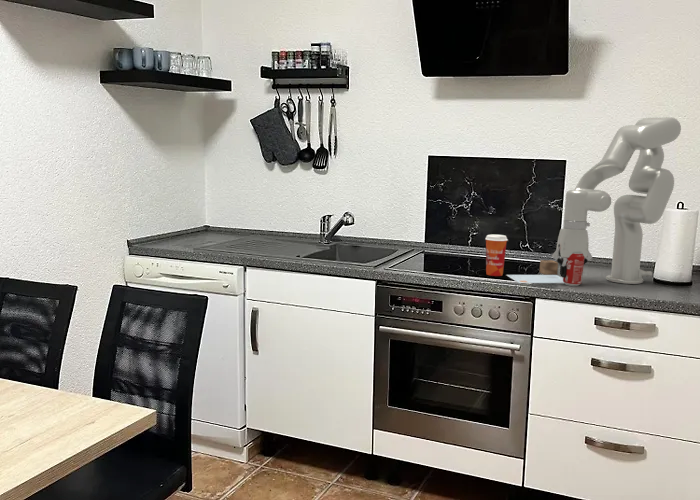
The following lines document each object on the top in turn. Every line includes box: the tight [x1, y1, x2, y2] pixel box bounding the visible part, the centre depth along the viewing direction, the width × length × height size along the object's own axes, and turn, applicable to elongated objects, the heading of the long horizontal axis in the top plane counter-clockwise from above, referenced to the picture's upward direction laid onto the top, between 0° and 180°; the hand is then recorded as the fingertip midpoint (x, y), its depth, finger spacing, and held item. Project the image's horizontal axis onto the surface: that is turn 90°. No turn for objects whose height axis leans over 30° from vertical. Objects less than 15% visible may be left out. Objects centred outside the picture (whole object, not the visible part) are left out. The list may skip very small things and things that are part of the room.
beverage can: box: [562, 253, 585, 287], centre depth 244 cm, size 6×6×12 cm
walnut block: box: [539, 259, 559, 275], centre depth 266 cm, size 5×5×5 cm
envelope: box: [505, 274, 565, 284], centre depth 254 cm, size 20×15×1 cm
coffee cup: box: [484, 233, 509, 277], centre depth 260 cm, size 8×8×15 cm
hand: (570, 276), depth 245 cm, fingers closed on beverage can, 4 cm apart
